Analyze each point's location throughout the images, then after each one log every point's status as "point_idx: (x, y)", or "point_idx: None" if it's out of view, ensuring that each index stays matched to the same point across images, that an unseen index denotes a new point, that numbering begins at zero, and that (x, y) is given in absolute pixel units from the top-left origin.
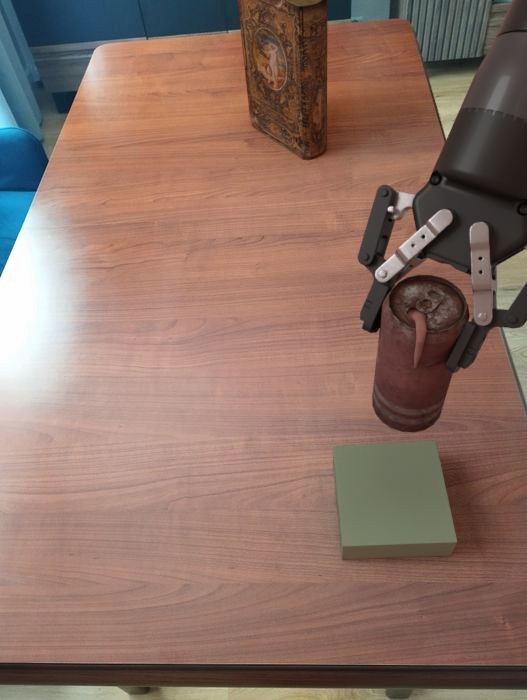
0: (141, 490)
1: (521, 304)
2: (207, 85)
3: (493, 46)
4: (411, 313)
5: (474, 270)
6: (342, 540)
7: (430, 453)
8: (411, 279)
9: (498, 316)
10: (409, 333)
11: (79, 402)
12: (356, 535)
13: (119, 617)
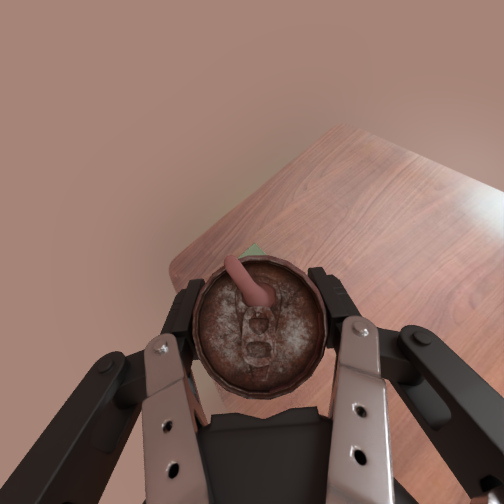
0: (366, 204)
1: (85, 402)
2: None
3: None
4: (270, 299)
5: (183, 422)
6: (256, 245)
7: None
8: (313, 360)
9: (139, 365)
10: (248, 258)
11: (450, 215)
12: (252, 252)
13: (317, 160)
